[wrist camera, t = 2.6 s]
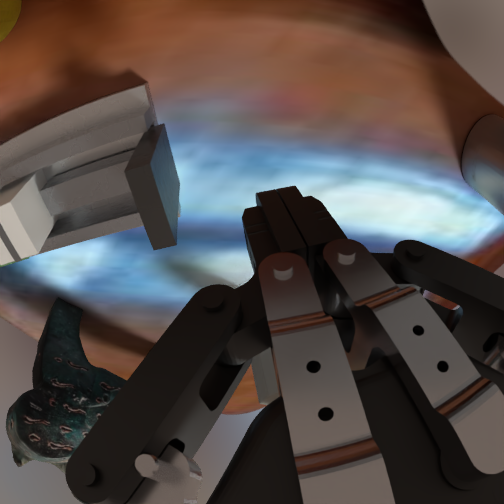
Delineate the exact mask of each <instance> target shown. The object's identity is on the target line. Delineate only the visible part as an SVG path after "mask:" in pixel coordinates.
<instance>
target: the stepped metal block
mask: <svg viewBox="0 0 504 504" xmlns="http://www.w3.org/2000/svg"><path fill="white" fill-rule="evenodd" d="M179 190H180V182H179V178H178V174H177V171H176V167H175V163H174V159H173V155H172V152H171V148H170V144H169V140H168V136H167V132H166V128H165V124H160V125H156V126H153V127H150V128H149V130H148V131H147V132H144V133H143V135H142V137H141V139H140V141H139V143H138V145H137V146H136V148H135V150H132V151H128V152H125V153H122V154H119V155H115V156H112V157H109V158H106V159H103V160H100V161H97V162H94V163H91V164H88V165H85V166H82V167H80V168H77V169H74V170H71V171H69V172H66V173H63V174H61V175H58V176H56V177H53V178H51V179H49V180H48V182H47V183H46V184H45V185H44V186H43V188H42V189H41V190H40V191H39V193H40V195H41V197H42V199H43V201H44V203H45V205H46V207H47V210H48V212H49V214H50V216H53V215H56V214H59V213H62V212H65V211H68V210H71V209H74V208H77V207H80V206H83V205H87V204H90V203H93V202H96V201H100V200H103V199H106V198H110V197H113V196H117V195H120V194H124V193H127V192H131V193H132V195H133V198H134V201H135V204H136V206H137V209H138V212H139V214H140V217H141V219H142V222H143V225H144V227H145V230H146V232H147V235H148V237H149V240H150V242H151V245H152V247H153V250H157V249H162V248H166V247H171V246H175V245H177V223H178V205H179Z"/></svg>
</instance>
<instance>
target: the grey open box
mask: <svg viewBox="0 0 504 504" xmlns="http://www.w3.org/2000/svg"><path fill="white" fill-rule="evenodd" d="M156 125H158V122H157V118H156V114H155V110H154V106H153V102H152V98H151V93H150V89H149V85H148V82H147V83H144V84H141V85H137V86H134V87H131V88H127V89H124V90H121V91H118V92H115V93H112V94H109V95H107V96H104V97H101V98H98V99H96V100H93V101H90V102H88V103H85V104H83V105H80V106H78V107H75V108H73V109H70V110H68V111H66V112H63V113H61V114H59V115H57V116H54V117H52V118H50V119H48V120H46V121H44V122H41V123H39V124H37V125H35V126H33V127H31V128H29V129H27V130H25V131H24V132H22V133H20V134H18V135H16V136H14V137H12V138H11V139H9V140H7V141H5V142H3V143H2V144H0V189H1V188H2V187H3V186H5V185H7V184H9V183H11V182H13V181H15V180H17V179H19V178H21V177H24V176H26V175H28V174H30V173H32V172H35V171H37V170H39V169H42V170H43V172H44V175H45V177H46V179H47V182H48V180H49V179H51V178H53V177H56V176H58V175H61V174H63V173H66V172H69V171H71V170H74V169H77V168H80V167H82V166H85V165H88V164H91V163H94V162H97V161H100V160H103V159H106V158H109V157H112V156H115V155H119V154H122V153H125V152H128V151H132V150H135V148H136V146H137V145H138V143H139V141H140V139H141V137H142V135H143V133H144V132H147V131H148V130H149V128H150V127H153V126H156ZM180 213H181V206H180V202H179V205H178V217H180ZM140 226H144V225H143V222H142V219H141V217H140V214H139V212H138V209H137V206H136V204H135V201H134V198H133V195H132V193H131V192H127V193H124V194H120V195H117V196H113V197H110V198H106V199H103V200H100V201H96V202H93V203H90V204H87V205H83V206H80V207H77V208H74V209H71V210H68V211H65V212H62V213H61V214H60V216H59V218H58V219H57V221H56V223H55V224H54V226H53V228H52V230H51V231H50V233H49V235H48V237H47V239H46V240H45V242H44V244H43V246H42V248H41V250H40V252H39V254H41V253H44V252H47V251H51V250H54V249H58V248H61V247H65V246H68V245H72V244H75V243H79V242H82V241H86V240H90V239H93V238H97V237H101V236H105V235H108V234H112V233H116V232H120V231H124V230H128V229H132V228H136V227H140ZM36 255H37V254H36ZM32 256H34V255H32ZM29 257H31V256H29ZM29 257H26V258H23V259H22V260H25V259H28V258H29ZM22 260H21V261H22ZM12 263H15V261H13V262H10V263H7V264H4V265H0V267H3V266H6V265H9V264H12Z"/></svg>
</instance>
